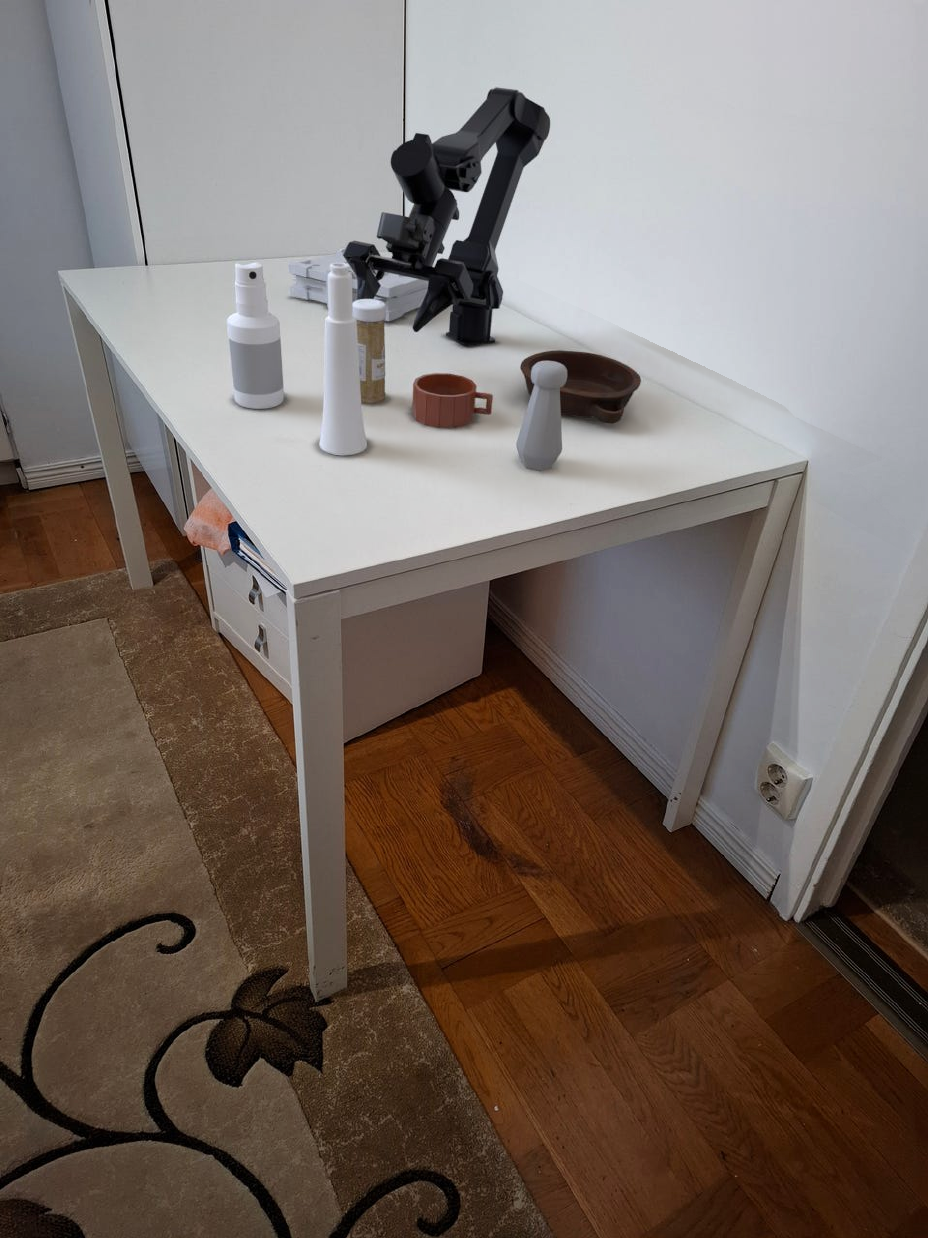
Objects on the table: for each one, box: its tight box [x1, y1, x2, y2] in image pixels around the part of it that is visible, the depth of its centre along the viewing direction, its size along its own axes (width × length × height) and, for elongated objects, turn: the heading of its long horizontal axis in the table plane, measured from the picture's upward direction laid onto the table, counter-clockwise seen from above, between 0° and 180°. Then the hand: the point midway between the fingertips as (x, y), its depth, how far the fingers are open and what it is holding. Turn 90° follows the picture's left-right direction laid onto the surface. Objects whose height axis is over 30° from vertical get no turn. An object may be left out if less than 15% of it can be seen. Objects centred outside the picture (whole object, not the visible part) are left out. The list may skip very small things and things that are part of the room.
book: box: [287, 246, 429, 322], centre depth 155 cm, size 19×28×8 cm
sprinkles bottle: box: [352, 299, 387, 404], centre depth 115 cm, size 5×5×14 cm
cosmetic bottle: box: [318, 263, 368, 456], centre depth 99 cm, size 6×6×22 cm
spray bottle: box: [226, 261, 285, 410], centre depth 110 cm, size 7×7×18 cm
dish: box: [519, 349, 642, 424], centre depth 122 cm, size 17×22×5 cm
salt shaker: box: [515, 361, 567, 472], centre depth 102 cm, size 6×6×13 cm
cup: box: [411, 372, 494, 429], centre depth 114 cm, size 11×9×4 cm
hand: (386, 323), depth 116 cm, fingers open, 9 cm apart
